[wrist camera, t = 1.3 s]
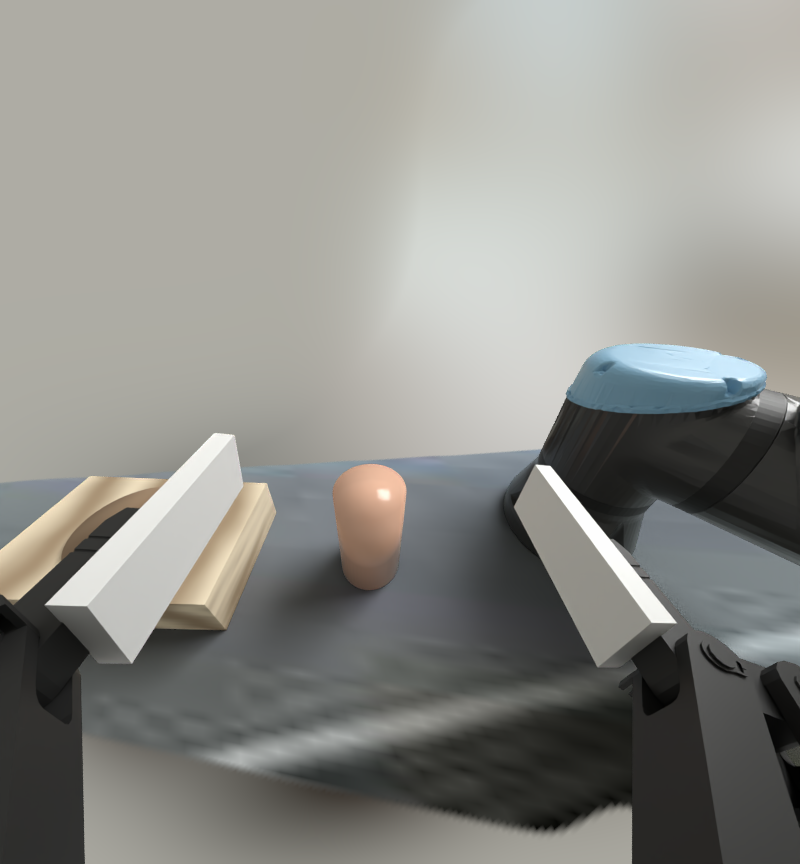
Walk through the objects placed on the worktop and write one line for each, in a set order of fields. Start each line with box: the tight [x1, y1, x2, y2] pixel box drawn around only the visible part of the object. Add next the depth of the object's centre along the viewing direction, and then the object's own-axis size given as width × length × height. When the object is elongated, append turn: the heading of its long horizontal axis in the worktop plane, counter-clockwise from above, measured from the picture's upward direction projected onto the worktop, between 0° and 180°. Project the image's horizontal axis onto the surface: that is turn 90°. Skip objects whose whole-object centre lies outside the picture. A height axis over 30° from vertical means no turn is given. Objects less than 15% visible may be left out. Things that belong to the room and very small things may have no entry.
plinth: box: [0, 476, 276, 630], centre depth 29 cm, size 20×13×6 cm, turn 90°
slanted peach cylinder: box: [333, 464, 406, 590], centre depth 28 cm, size 6×6×12 cm
